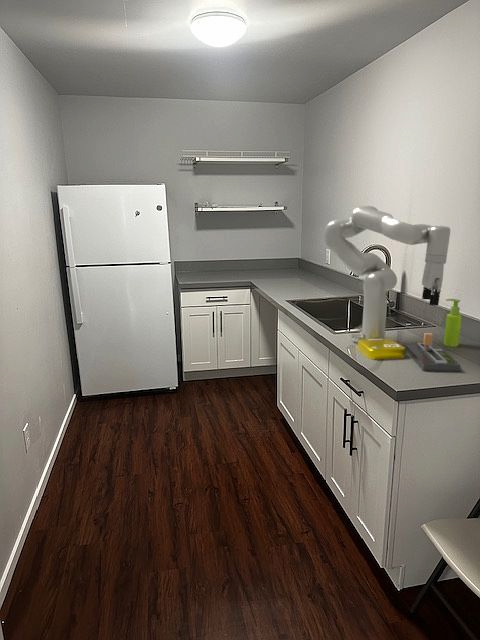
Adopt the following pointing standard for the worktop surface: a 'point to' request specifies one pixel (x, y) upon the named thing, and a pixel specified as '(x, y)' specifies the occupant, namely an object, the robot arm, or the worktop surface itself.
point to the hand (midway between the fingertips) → (429, 302)
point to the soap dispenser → (453, 325)
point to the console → (432, 358)
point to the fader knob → (427, 340)
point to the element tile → (381, 348)
